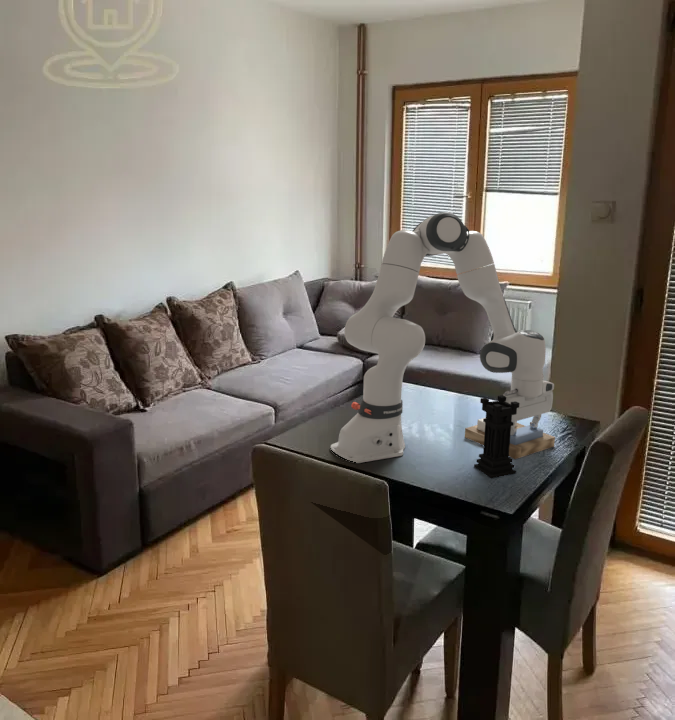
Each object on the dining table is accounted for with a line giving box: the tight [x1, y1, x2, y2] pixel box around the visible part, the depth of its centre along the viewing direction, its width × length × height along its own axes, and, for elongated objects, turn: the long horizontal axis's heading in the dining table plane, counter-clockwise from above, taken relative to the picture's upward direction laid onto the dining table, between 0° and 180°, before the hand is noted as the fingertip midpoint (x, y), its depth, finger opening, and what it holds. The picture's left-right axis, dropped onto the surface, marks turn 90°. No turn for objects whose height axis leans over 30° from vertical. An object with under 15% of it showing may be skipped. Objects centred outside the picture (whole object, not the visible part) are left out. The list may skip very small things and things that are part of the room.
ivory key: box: [476, 417, 518, 432], centre depth 208 cm, size 12×5×3 cm, turn 125°
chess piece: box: [473, 394, 520, 479], centre depth 182 cm, size 8×8×20 cm
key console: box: [464, 422, 556, 460], centre depth 205 cm, size 17×20×3 cm
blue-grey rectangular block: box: [510, 424, 544, 445], centre depth 200 cm, size 12×5×3 cm, turn 125°
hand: (523, 431), depth 200 cm, fingers open, 8 cm apart
